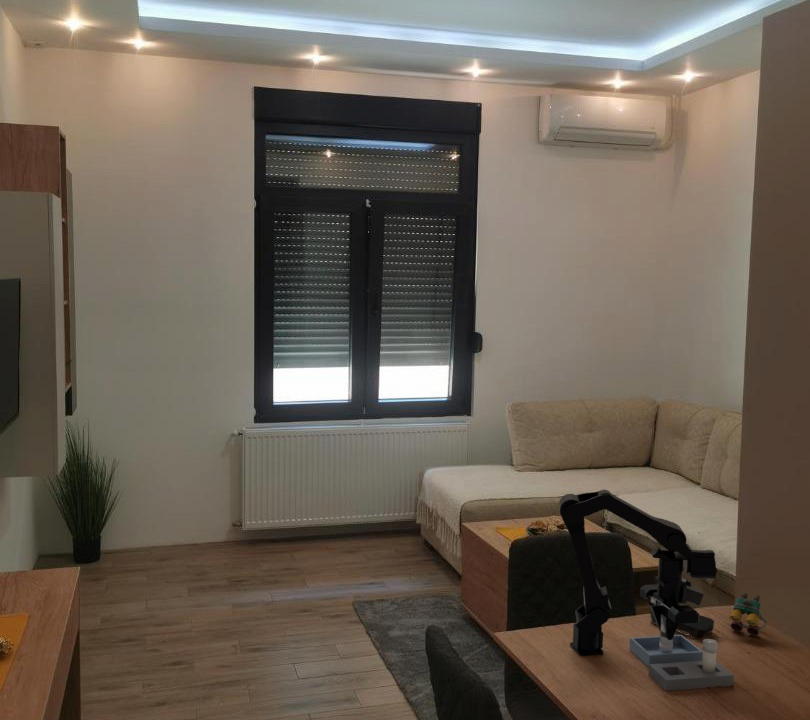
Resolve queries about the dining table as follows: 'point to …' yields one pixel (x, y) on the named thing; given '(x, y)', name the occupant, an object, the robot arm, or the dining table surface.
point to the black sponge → (693, 626)
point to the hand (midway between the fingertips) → (666, 636)
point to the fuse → (709, 655)
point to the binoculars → (752, 611)
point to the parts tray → (650, 653)
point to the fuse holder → (689, 675)
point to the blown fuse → (665, 640)
